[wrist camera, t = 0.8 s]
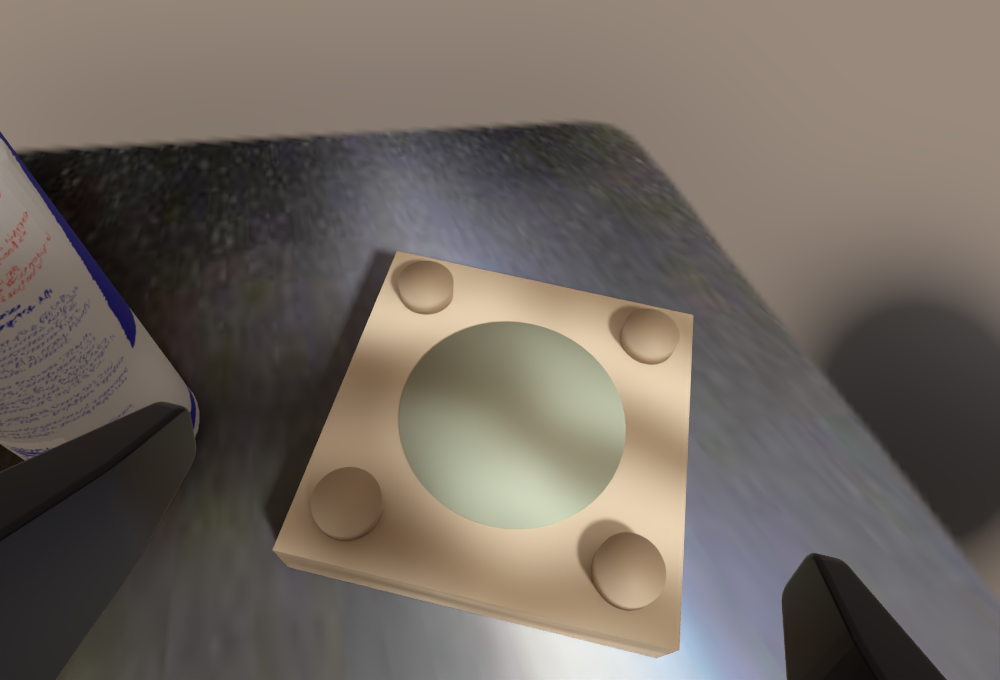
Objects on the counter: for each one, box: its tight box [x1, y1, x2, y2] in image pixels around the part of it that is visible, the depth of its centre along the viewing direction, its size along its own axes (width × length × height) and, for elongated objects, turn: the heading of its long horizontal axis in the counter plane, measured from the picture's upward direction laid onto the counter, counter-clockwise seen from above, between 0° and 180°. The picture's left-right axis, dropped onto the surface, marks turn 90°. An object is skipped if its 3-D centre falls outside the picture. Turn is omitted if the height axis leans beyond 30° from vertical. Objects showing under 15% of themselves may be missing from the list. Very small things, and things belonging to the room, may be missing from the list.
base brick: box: [273, 251, 693, 658], centre depth 25 cm, size 14×14×3 cm
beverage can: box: [0, 132, 200, 460], centre depth 19 cm, size 6×6×15 cm
